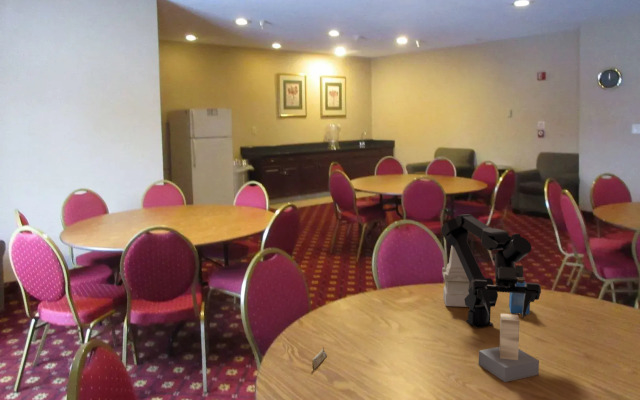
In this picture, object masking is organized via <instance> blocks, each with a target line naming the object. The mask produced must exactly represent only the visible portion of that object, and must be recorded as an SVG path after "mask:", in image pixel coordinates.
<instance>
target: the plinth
mask: <svg viewBox="0 0 640 400" xmlns="http://www.w3.org/2000/svg"><path fill="white" fill-rule="evenodd" d="M478 366H480V367H482V368H483V369H485V370H486V371H487V372H490V373H491V374H492V375H494V376H495V377H496V378H498V379H499V380H501V381H502V382H504V383H508V382H512V381H516V380H521V379H525V378H530V377H533V376H538V375H539V371H540V360H539V359H537V358H536V357H534V356H533V355H530V354H528V352H527V353H526V352H525V351H524V350H521V349H520V348H519V349H518V360H512V359H501V358H500V353H499V346H496V347H495V346H494V347H490V348H486V349H481V350H478Z"/></svg>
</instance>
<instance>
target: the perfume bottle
mask: <svg viewBox="0 0 640 400" xmlns="http://www.w3.org/2000/svg"><path fill="white" fill-rule="evenodd" d="M525 280H526V278H525V277H524V276H523V277H522V278H520V277H517V284H516V286H518V287H525V285H526V281H525ZM508 299H509V300H508V301H509V303H508V308H510V309H509V311H510V314H516V313H517V314H516V315H518V314H519V313H520V314H519V315H522V312H523V301H524V294H523V293H509V298H508ZM530 308H531V303H530V304H529V306H528V308H527V311H526V314H525V315H530V311H531V310H530Z"/></svg>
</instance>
